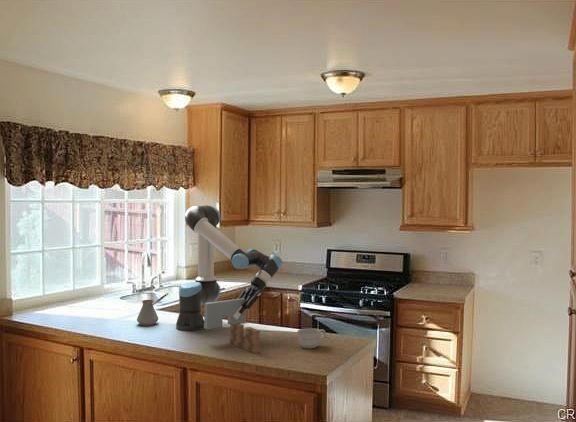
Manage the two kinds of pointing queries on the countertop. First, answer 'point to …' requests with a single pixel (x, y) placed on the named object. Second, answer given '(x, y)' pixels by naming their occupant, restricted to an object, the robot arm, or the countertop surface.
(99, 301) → the countertop surface
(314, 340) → the teacup
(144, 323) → the coffee pot
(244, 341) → the walnut board
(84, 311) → the countertop surface
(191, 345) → the countertop surface
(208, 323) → the slate plate
